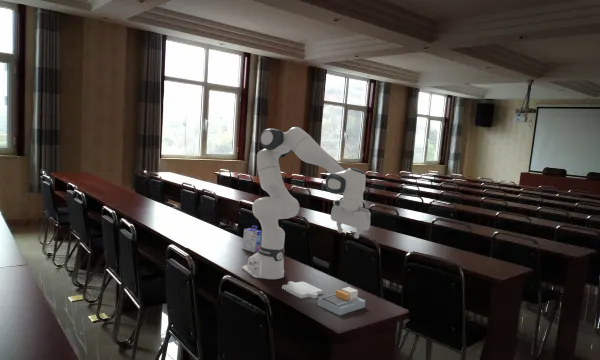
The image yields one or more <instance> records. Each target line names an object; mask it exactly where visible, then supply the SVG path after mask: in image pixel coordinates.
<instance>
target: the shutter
mask: <svg viewBox="0 0 600 360" xmlns="http://www.w3.org/2000/svg"><path fill="white" fill-rule="evenodd" d="M335 294H336V295H334V296H330V297H327V298H324V300H326V301H328V302H330V303H332V304H334V305H337V304H340V303H343V302H347V301H349V300H348V299H349V294H347V293H344V292H342V291H341V290H339V289H336V290H335Z"/></svg>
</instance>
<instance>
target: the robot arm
mask: <svg viewBox="0 0 600 360" xmlns="http://www.w3.org/2000/svg"><path fill="white" fill-rule="evenodd" d="M259 143H260V145H261V147H262V148H263V149H260V150H259V151H258V152H257V154H256V166H257V167H256V168H257V174H258V179H259V180H258V181H259V185H260V188H261V189H262V190H263V191H265V192H266V193H267V194H268V195H269V196H262V197H260V198H257V199H255V200H254V201H253V203H252V207H251V208H252V213H253V216H254V217H255V218H256V219H257V220H258V221H259V224H260V226H261V231H262V238H261V245H260V246H259V247H257V248H259V250H258V252H254V254H253V255H251V256H249V257H248V259H247V264H245V265H243V266H242V268H241V269H242V270H244V272H246V273H248V274H249V275H250V276H252V277H253V278H256V279H266V280H278V279H282V278H284V277H285V275H284V274H285V270H284V268H285V267H284V264H285V263H284V259H285V258H284V254H285V238H286V237H285V236H286V233H285V230H284V229H283V228H282V227H280V226H279V220H285V219H286V220H288V219H291V218H294V217H296V216H297V215H298V214H299V211H300V203H299V201H298V200H297V198H295V197H293V196H292V194H290V191H288V188H287V187H286V186H285V183H284V180H283V176H282V171H281V167H280V163H279V158H280V159H283V158H285V157H286V156H288V155H290V154H291V153H292V152H293V153H294V154H295V155H296V157H298V158H299V159H300V160H301V161H303V162H304V163H307V164H310V165H315V166H318V167H321V168H323V169H325V170H326V172H328V173H329V174H328V175H327V177H326V179H325V187H326V191H328V193H330V194H334V195H343V196H342V198H341V199H336V200H333V203H332V204H333V205H332V208H331V212H330V219H331V221H332V222H336V227H337V233H339V234H342V233H343V232H344V231H343V230H344V229H343V228H342V224H343V225H346V226H349V227H352V228H355V229H356V233H354V234H353V238H355V239H359V238H360V234H361V233H362V232H363V231H368V230H369V229H370V228H371V215H372V213H371V212H370V210H369V209H368V208H365V207H363V203H364V192H365V190H366V172H365V171H364V170H362V169H360V168H357V167H348V168H347V169H346V168H345V167H343V166H342V165H341V163H339V162H338V161H337V160H336V159H335V158H334V157H332V156H331V155H330V154H329V153H328V152H327V151H326V150H324V148H322V147H321V146H320V144H319V143H318V142H317V141H315V140H314V138H313V137H312V136H311V135H310V134H308V133H307V132H306V131H305V130H304V129H303V128H301V127H299V126H292V127H291V128H290V129H288V130H287V131H285V132H284V131H283V130H281V129H276V128H265V129H264V130H262V132H261V133H260V135H259Z"/></svg>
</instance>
